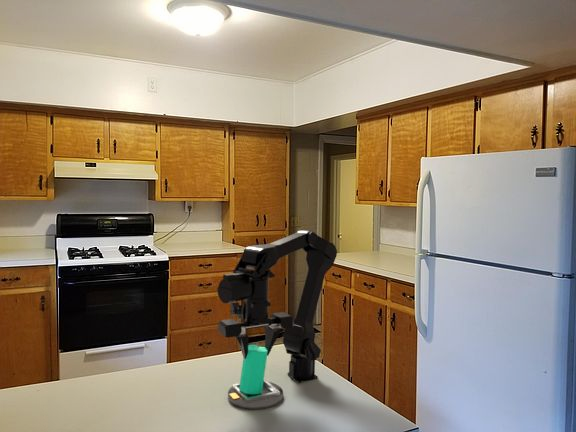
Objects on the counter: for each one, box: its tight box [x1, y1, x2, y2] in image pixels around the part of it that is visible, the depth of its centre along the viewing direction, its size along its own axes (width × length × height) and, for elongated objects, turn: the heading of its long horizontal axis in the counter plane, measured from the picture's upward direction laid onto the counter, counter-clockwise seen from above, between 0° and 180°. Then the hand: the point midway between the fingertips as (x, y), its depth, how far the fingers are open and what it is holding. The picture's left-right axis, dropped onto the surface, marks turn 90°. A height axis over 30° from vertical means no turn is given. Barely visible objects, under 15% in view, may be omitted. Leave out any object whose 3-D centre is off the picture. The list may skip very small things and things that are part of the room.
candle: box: [239, 342, 268, 394], centre depth 112 cm, size 6×6×12 cm
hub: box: [227, 378, 284, 411], centre depth 113 cm, size 14×14×2 cm
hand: (256, 357), depth 113 cm, fingers closed on candle, 6 cm apart
